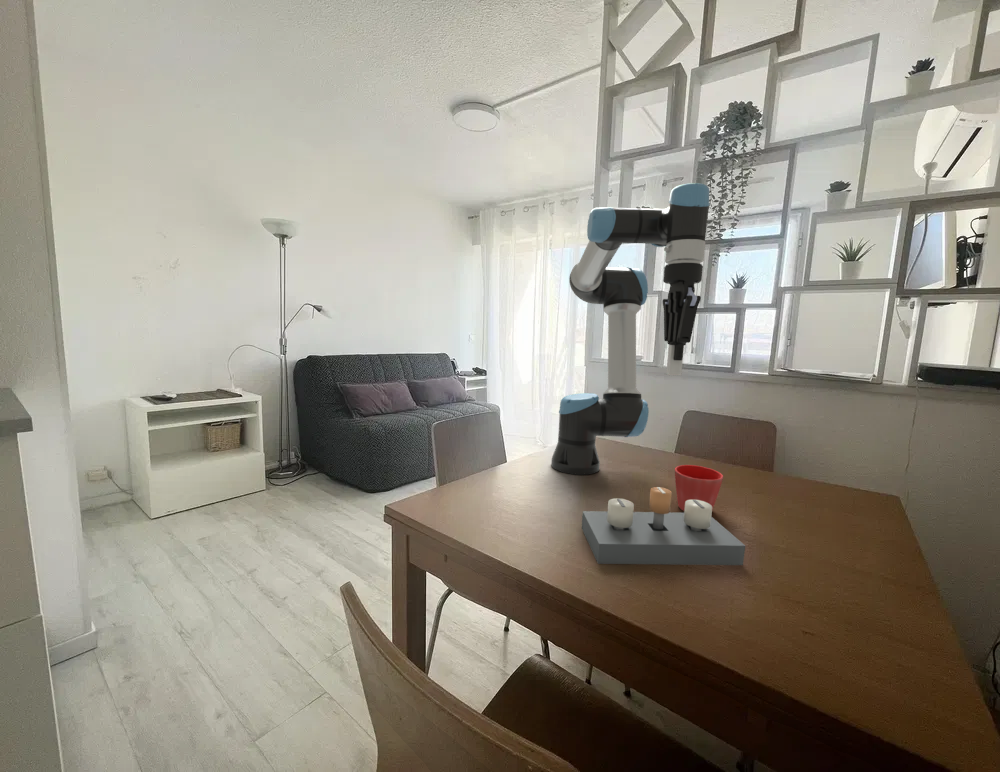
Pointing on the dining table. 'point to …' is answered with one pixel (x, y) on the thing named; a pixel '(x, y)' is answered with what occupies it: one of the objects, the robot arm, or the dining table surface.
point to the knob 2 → (697, 514)
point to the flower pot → (697, 484)
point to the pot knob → (659, 505)
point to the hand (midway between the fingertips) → (673, 374)
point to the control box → (660, 541)
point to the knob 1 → (620, 513)
